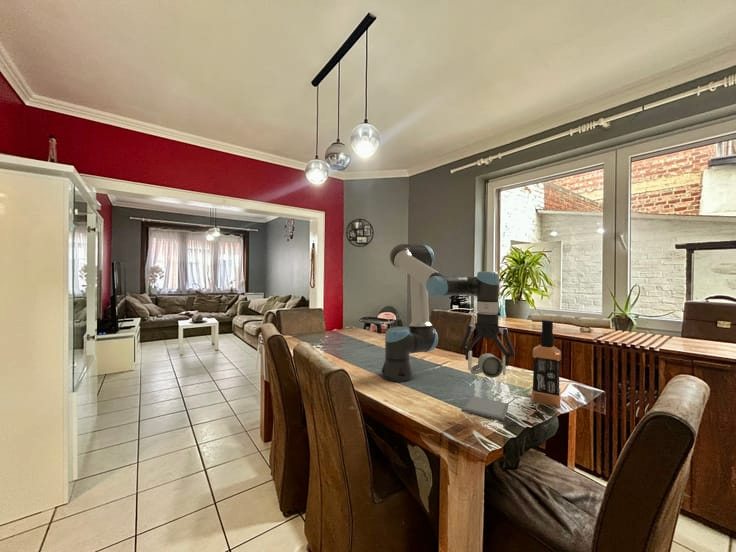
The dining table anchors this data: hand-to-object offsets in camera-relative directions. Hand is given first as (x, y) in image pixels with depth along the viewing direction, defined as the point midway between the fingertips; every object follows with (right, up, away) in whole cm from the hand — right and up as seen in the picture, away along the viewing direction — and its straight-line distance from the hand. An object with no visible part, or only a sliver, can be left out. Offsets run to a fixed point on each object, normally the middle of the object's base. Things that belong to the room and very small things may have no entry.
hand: (486, 371), depth 113 cm
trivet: (0, -14, 0) cm, 14 cm away
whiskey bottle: (+27, -14, +8) cm, 32 cm away
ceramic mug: (0, -1, 0) cm, 1 cm away
